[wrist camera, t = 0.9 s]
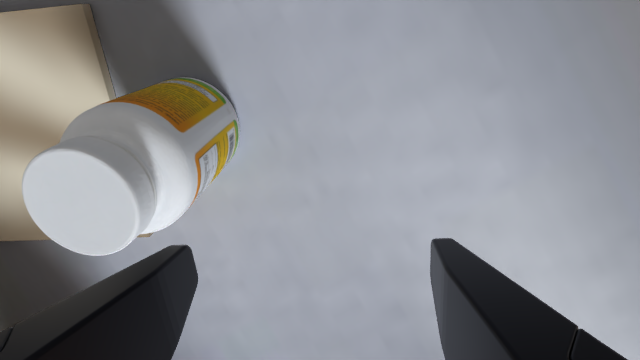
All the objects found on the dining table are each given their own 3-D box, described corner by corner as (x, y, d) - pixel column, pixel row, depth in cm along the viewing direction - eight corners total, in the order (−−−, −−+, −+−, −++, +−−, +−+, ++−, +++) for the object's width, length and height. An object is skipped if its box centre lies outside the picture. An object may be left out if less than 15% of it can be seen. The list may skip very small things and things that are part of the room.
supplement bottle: (127, 98, 22) (-37, 160, 13) (212, 59, 20) (95, 97, 11) (178, 184, 23) (64, 291, 15) (259, 152, 22) (189, 249, 13)
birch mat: (154, 231, 25) (149, 236, 24) (-18, 237, 26) (-26, 241, 26) (89, 3, 20) (81, 3, 19) (-118, 26, 21) (-130, 26, 21)
